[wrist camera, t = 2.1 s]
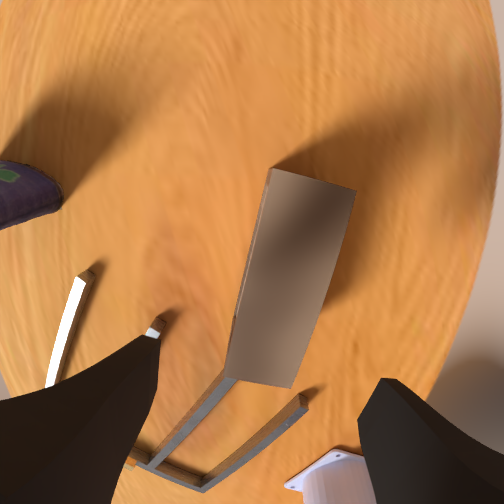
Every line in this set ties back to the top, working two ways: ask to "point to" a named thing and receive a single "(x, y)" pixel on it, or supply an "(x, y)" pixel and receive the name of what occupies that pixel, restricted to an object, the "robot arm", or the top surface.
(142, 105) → the top surface
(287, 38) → the top surface
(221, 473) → the notch rack
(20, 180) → the flask
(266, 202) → the taupe rectangular box
